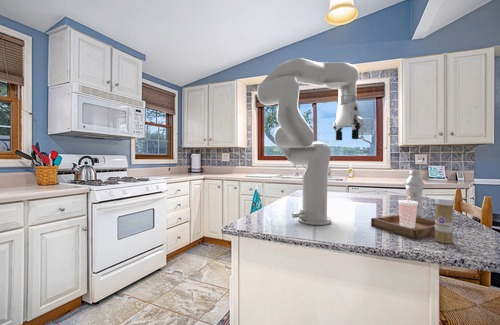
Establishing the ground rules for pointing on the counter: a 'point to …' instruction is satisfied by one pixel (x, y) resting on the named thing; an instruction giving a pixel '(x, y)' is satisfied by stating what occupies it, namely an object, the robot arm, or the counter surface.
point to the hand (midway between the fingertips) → (346, 139)
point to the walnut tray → (393, 225)
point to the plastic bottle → (415, 190)
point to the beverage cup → (407, 212)
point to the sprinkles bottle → (444, 219)
